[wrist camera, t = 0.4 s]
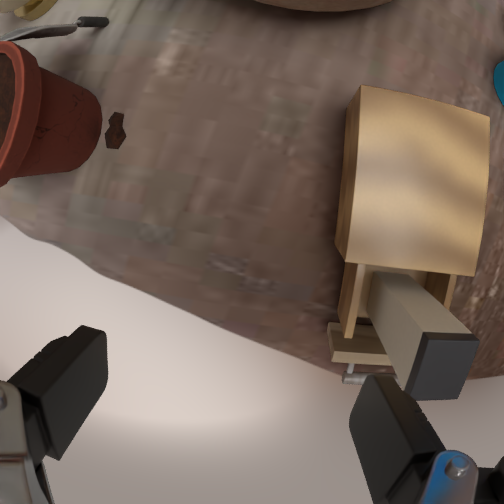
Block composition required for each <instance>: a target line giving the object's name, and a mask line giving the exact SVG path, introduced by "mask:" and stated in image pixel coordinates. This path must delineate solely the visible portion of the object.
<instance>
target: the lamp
mask: <svg viewBox="0 0 504 504" xmlns="http://www.w3.org/2000/svg"><path fill="white" fill-rule="evenodd" d="M56 2H57V0H0V13H8V12H11V11H14V13H15V15H16V16H18V17H20V18H22V19H24V20H27V21H32V20H35V19H37V18H39V17H40V16H42V15H43V14H45V13H46V12H47V11H48V10H49V9H50V8H51V7H52V6H53V5H54V4H55V3H56Z"/></svg>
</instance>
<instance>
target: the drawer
mask: <svg viewBox="0 0 504 504" xmlns="http://www.w3.org/2000/svg"><path fill="white" fill-rule="evenodd" d="M374 271H380V272H389V273H398V274H407V275H409V276H410V277H412V278H413V279H414V280H415V281H416V282H417V283H418V284H420V285H421V286H422V287H423V288H424V289H425V290H426V291H427V292H429V293H430V294H431V295H432V296H433V297H434V298H435V299H436V300H437V301H439V302H440V303H441V304H442V305H443V306H444V307H445V308H446V309H447V310H448V311H449V308H450V304H451V300H452V296H453V292H454V288H455V283H456V279H457V275H454V274H446V273H437V272H428V271H419V270H411V269H402V268H393V267H384V266H375V265H367V264H358V263H349V262H345V269H344V275H343V281H342V288H341V293H340V299H339V305H338V311H337V313H338V317H339V320H340V323H335V322H329V323H328V328H327V335H328V341H329V347H330V354H331V360H332V362H341V363H348V366H347V370H346V371H344V372H343V375H342V383H343V384H358V385H363V383H364V380H365V378H366V377H367V376H368V375H370V374H374V375H391V376H393V377H394V379H395V380H396V382H397V383H398V385H399V386H401V384H400V382H399V379H398V377H397V375H396V374H393V373H369V372H353V369H354V365H355V364H370V365H390V366H392V364H391V362H390V359H389V357H388V355H387V353H386V351H385V349H384V347H383V345H382V342H381V340H380V338H379V336H378V334H377V332H376V330H375V328H374V326H368V325H356V324H355V323H356V318H357V317H364V318H369V316H368V314H367V312H366V310H367V305H368V300H369V295H370V290H371V284H372V279H373V273H374Z"/></svg>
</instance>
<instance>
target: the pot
mask: <svg viewBox="0 0 504 504" xmlns="http://www.w3.org/2000/svg"><path fill="white" fill-rule="evenodd" d="M255 1H258V2H260V3H264V4H269V5H274V6H279V7H284V8H288V9H296V10H306V11H315V12H317V11H348V10H356V9H365V8H370V7H374V6H377V5H381V4H385V3H388V2H391V1H393V0H255Z"/></svg>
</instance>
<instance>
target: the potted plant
mask: <svg viewBox="0 0 504 504" xmlns="http://www.w3.org/2000/svg"><path fill="white" fill-rule="evenodd" d="M107 24H108V18H106V17H79V18H78V20H76V21H74V22H73V23H72V24H64V25H46V26H34V27H24V28H18V29H15V30H13V31H11V32H9V33H7V34H5V35H3V36H2V37H1V38H0V187H2V186H3V185H5V184H7V182H8V181H9V180H10V179H11V178H17V177H25V176H33V175H41V174H50V173H59V172H69V171H71V170H74V169H76V168H78V167H80V166H81V165H82V164H83V163H84V162H85V161H86V160H87V159H88V158H89V157H90V155H91V153H92V152H93V150H94V149H95V147H96V145H97V142H98V139H99V136H100V134H101V125H102V114H101V107H100V105H99V103H98V100H97V98H96V97H95V96H94V95H93V94H92V93H91V92H90V91H89V90H87V89H85V88H83V87H81V86H79V85H77V84H75V83H72V82H70V81H68V80H66V79H64V78H62V77H60V76H58V75H56V74H54V73H52V72H49V71H47V70H45V69H43V68H41V67H39V66H38V63H37V60H36V58H35V57H34V56H33V55H32V54H31V53H30V52H28V51H27V50H26V49H24V48H22V47H20V46H19V45H17V44H15V43H13V42H11V41H15V40H22V39H29V38H35V39H36V38H44V37H54V36H66V35H68V34H71V33H73V32H74V31H76V30H77V27H105V26H106V25H107ZM123 116H124V114H121V113H117V112H114V114H113V115H112V116H111V117H110V119H109V120H108V121H109V124H110V127H109V128H108V130H107V131H106V133H105V140H106V146H107V148H113V149H118V148H119V147H120V145H121V144H122V142H123V140H124V139H125V137H126V134H125V132H124V130H123V127H122V123H123Z"/></svg>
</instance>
